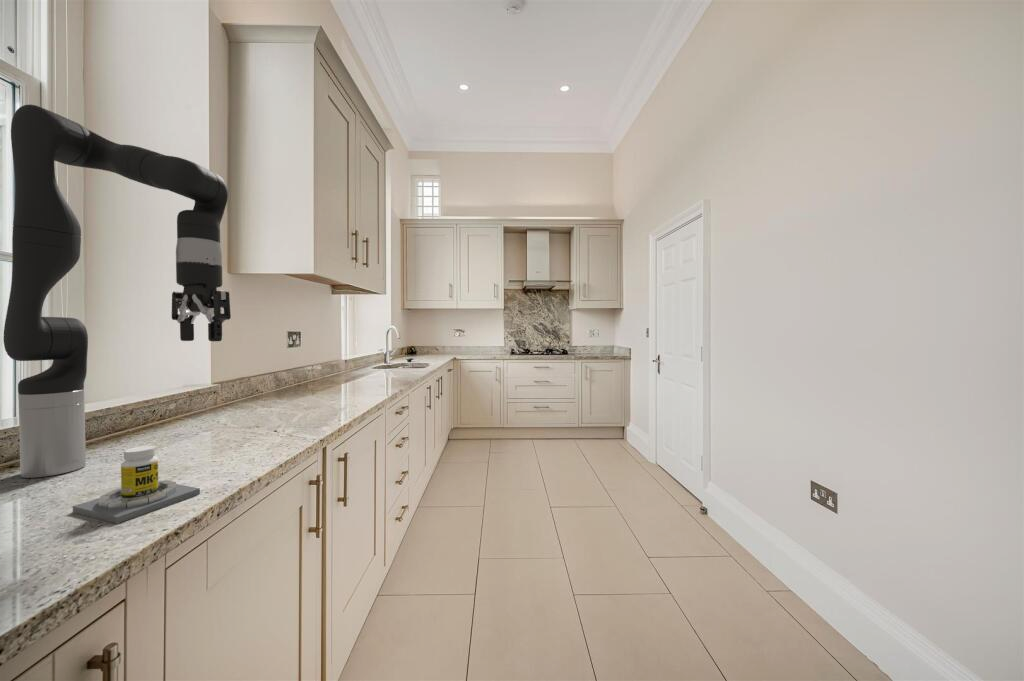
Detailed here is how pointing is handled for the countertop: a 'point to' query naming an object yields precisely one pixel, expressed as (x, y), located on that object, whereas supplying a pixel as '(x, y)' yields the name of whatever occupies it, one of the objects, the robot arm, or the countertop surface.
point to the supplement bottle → (139, 473)
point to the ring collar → (109, 503)
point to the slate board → (128, 513)
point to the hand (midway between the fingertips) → (201, 341)
